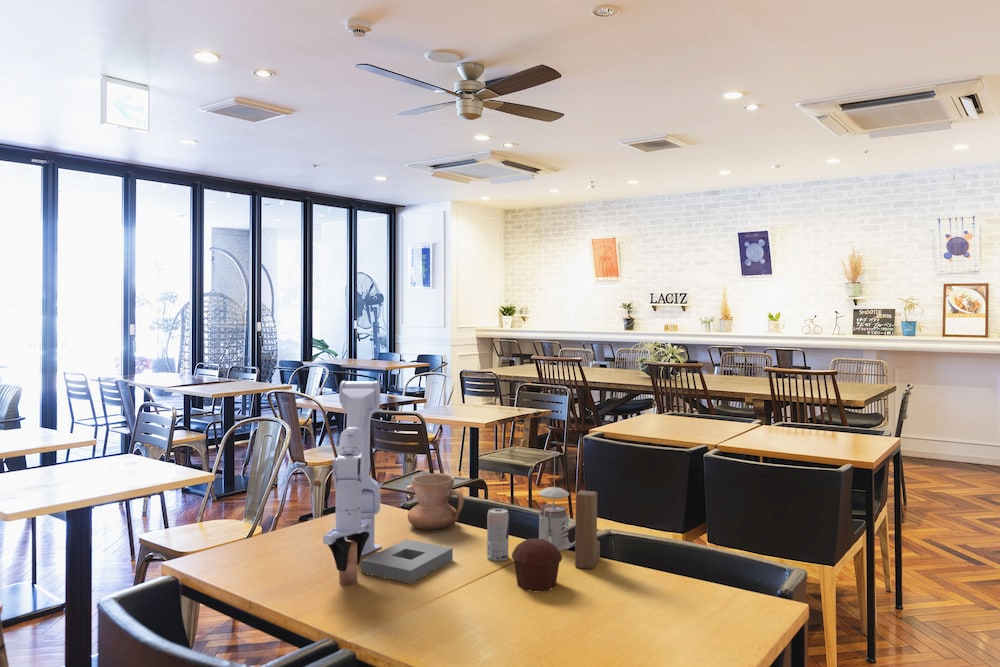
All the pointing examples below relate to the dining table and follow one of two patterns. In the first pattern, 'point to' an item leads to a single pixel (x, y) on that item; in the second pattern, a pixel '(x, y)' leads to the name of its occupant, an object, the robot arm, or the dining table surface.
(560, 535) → the french press
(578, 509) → the wooden block
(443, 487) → the ceramic jug
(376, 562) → the grey flat holed block
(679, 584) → the dining table surface
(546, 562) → the muffin
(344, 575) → the terracotta peg
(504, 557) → the energy drink
